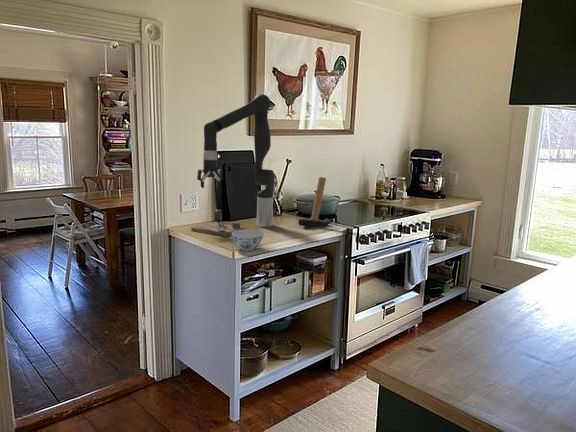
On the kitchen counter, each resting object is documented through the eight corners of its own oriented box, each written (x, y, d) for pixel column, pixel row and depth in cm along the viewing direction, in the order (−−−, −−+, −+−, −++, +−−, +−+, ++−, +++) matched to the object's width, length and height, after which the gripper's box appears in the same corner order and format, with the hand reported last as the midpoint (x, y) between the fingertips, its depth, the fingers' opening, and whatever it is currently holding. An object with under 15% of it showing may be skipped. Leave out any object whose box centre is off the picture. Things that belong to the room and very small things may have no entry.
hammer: (324, 228, 277) (333, 179, 275) (329, 229, 273) (338, 180, 271) (297, 225, 266) (307, 174, 264) (302, 226, 262) (312, 175, 259)
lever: (225, 230, 242) (225, 216, 240) (217, 231, 241) (217, 216, 239) (220, 223, 260) (220, 209, 258) (213, 223, 259) (213, 209, 257)
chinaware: (243, 243, 227) (243, 228, 226) (269, 247, 220) (269, 232, 219) (225, 249, 214) (225, 234, 213) (252, 254, 207) (252, 238, 206)
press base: (211, 225, 265) (211, 217, 265) (244, 231, 254) (244, 222, 253) (191, 230, 251) (191, 221, 250) (225, 236, 239) (225, 227, 238)
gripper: (200, 159, 245) (200, 189, 248) (224, 159, 252) (224, 188, 255) (195, 158, 251) (195, 187, 254) (219, 158, 259) (219, 186, 261)
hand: (210, 187), depth 255 cm, fingers open, 8 cm apart
